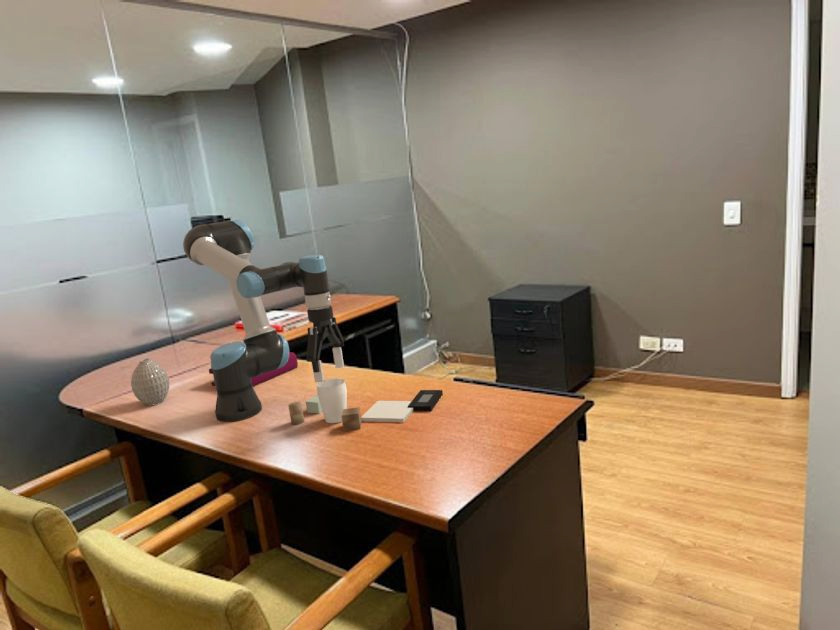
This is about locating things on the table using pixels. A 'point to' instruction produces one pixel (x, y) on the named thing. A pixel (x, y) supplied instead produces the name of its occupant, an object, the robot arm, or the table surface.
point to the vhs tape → (425, 400)
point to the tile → (388, 412)
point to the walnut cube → (351, 419)
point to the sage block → (313, 405)
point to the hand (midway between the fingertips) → (330, 374)
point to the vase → (150, 382)
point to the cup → (332, 399)
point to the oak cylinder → (296, 413)
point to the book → (262, 378)
